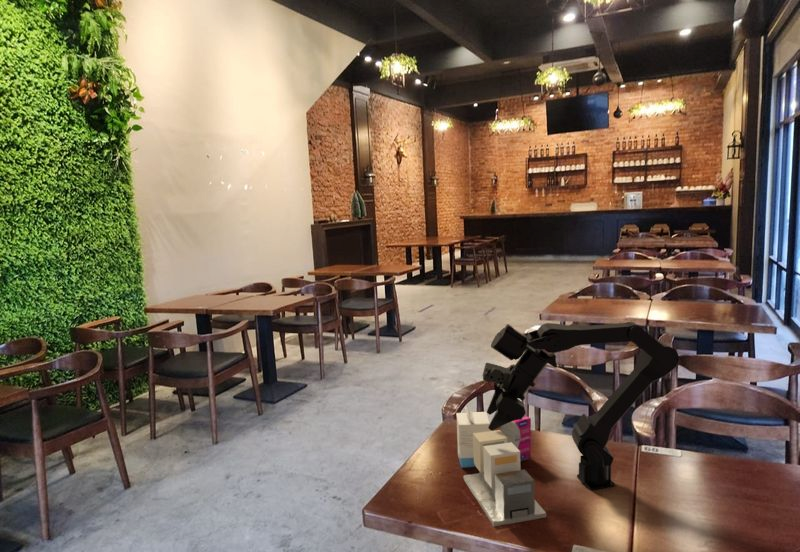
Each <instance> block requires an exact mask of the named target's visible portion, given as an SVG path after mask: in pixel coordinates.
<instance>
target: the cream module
mask: <svg viewBox="0 0 800 552" xmlns="http://www.w3.org/2000/svg"><path fill="white" fill-rule="evenodd" d="M483 457H484V478H485V480H486V481H487V483H488V484H489V485H490V487H491V488H495V474H498V473H505V472H511V471H518V470H522V469H521V461H520V451H519V450H518V449H517V448H516V446H515V445H514V444H513V443H512V442H510V443H503V444H496V445H489V446H483Z"/></svg>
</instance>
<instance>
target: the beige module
mask: <svg viewBox="0 0 800 552" xmlns="http://www.w3.org/2000/svg"><path fill="white" fill-rule="evenodd" d="M503 443H508V441H507V437H506V436H505V435H504V434H503V433H502V432H501V429H494V430H491V431H487V432H480V433H473V455H474V464H475V466H476V467H475V468H476V469H477V470H478V471H479V473H482V472H484V457H483V446H489V445H496V444H503Z"/></svg>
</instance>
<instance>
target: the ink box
mask: <svg viewBox="0 0 800 552" xmlns="http://www.w3.org/2000/svg"><path fill="white" fill-rule="evenodd" d="M464 407H465V409H464V410H465V412H456V413H455V414H456V437H457V439H456V440H457V456H458V460H459V464H460V468H462V469H463V468H477V467H476V466H475V464H474V455H473V433H480V432H487V431H492V430H490V429H489V428H488V427H489V425H490V422H491V421H490V418H489V414H488V413H487V411H471V410H470V409H469V408H468V407H466V406H464Z"/></svg>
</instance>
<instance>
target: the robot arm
mask: <svg viewBox="0 0 800 552" xmlns="http://www.w3.org/2000/svg"><path fill="white" fill-rule="evenodd" d="M628 342H629V343H631V342H632V343H633V344H634V345H635V346H636V347H637V348H639V349H640V352H639V354H638V355H637V359H636V361H635V364H634V368H633V369H632V371H631V372H630V373H629V374H628V375H627V376H626V378H625V379H624V380H623V381H622V382H621V384H620V385H619V386H618V387H617V388H616V389H615V391H614V392H613V393H612V394H611V395H610V396H609V398H607V400H606V401H605V402H604V404H603V405H602V406H601V407H600V408H599V409H598V410H597V412H596V413H594V414H592V415H589V416H587V414H585V413H583V414H582V415H581V416H580V417H579V419H578V421H577V422H574V423H573V424H572V426H573V429H572V430H571V436H572V437H571V438H572V439H573V442H574V444H575V445H576V447H577V449H578V451H579V453H580V454H581V455H580V461H579V463H578V474H577V475H576V478H578V479H579V480H580V481H581V482H582V483H583V484H584V485H585V486H586V487H587V489H590V490H593V491H594V490H598V489H604V488H610V487H615V486H616V483H615V482H614V481H613V480H612V464H613V462H614V456H613V454H612V453H611V452H610V450H609V449H608V447H607V446H606V445H607V444H608V442H609V439H610V437H611V433H612V430H613V428H614V427H615V425H617V423H618V422H619V421H620V420H621V419H622V418H623V416H624V415H625V414H626V413H627V412H628V411H629V409H630V408H631V407H632V406H634V405H633V404H635V402H636V401H637V400H638V399H639V398H640V397H641V395H643V393H644V392H645V391H646V390H647V389H648V387H650V385H651V384H653V382H655V381H656V382H657V381H658V380H660V379H662V378H664V377H666V376H667V375H669V374H670V373H671V372H672V371H673V370H675V369H676V368H677V367H678V365H679V364H680V356H679V353H678V351H677V350H676V349H675V348H673V347H672V346H670V345H669V344H667V343H666V342H664V341H662V340H661V339H660V340H659V339H655V338H654V337H653V336H652V335H651V334H649V333H648V332H646V331H645V329H644V328H643V327H642V326H641V325H639V324H637V323H636V322H634V321H627V322H626V321H625V322H622V323H609V324H608V323H607V324H593V325H581V326H580V325H578V326H574V325H573V326H572V325H569V324H562V323H561V324H560V323H553V322H551V323H550V322H547V323H543V324H541V325H540V326H539V327H538V328H537V329H535V330H532V331H529V332H526V333H523V334H522V332H520V331H518V330H516V329H515V327H513V326H512V325H511V324H508V323H507V324H506V325H505V327H503V328H502V329H501V330H500V331H499V332H497V333H496V334H495V336H494V338H493V339H492V342H491V344H490V348H491V349H493V350H494V351H496V352H497V353H499V354H500V355H502V356H504V357H505V358H507V359H508V360H510V361H513V360H515V361H516V362H515V364H510V365H509V367H504V366H501V365H497V364H494V363H490V362H485V364H484V368H483V372H482V380H483V381H484V382H488V383H490V382H491V383H493V387H494V389H493V390H494V393H493V394H492V397H491V400H490V402H489V405H488V408H487V410H486V412H487V415H488V416H489V415H492V414H494V415H493V417H492V418H491V421H490V425H489V427H488V428H489V429H490V430H491V431H495V430H497V429H498V428H501V426H503V425H505V424H507V423H509V422H512V421H514V420H518V419H519V420H521V419H522V418H523V417H524V415H525V416H526V414H527V413H526V409H525V405H524V402H523V401H524V400H525V399H526V396H525V395H526V393H527V392H528V390H529V389H530V388H531V387H532V388H534V387H535V385H536V379H537V378H538V377H539V376H540V375H541V373H542V372H543V371H544V369H545V367H546V366H547V365H548V364H549V365H550V366H552V367H553V368H557V367H558V364H557V361H556V359H557V356H556V353H561V352H564V351H569V350H571V349H573V348H575V347H578V346H579V347H580V346H583V345H584V346H585V345H586V346H587V345H600V344H614V343H628ZM517 360H518V361H517Z"/></svg>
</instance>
